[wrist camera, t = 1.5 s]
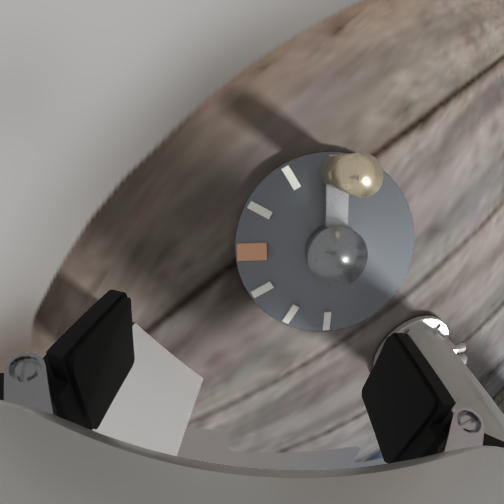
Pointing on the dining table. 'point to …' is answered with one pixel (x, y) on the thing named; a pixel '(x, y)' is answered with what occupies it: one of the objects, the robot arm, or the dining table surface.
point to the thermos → (500, 400)
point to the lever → (341, 219)
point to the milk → (152, 399)
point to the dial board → (294, 241)
